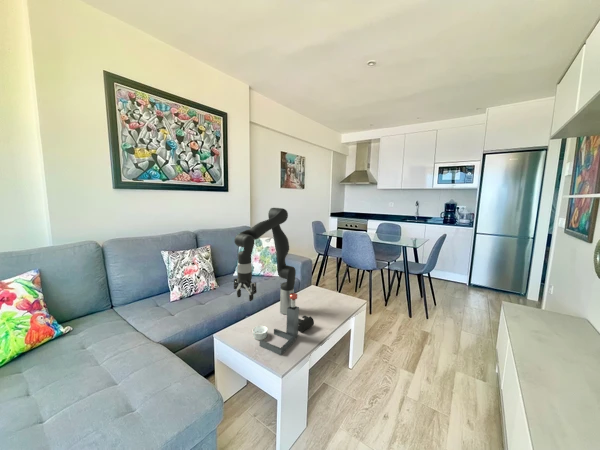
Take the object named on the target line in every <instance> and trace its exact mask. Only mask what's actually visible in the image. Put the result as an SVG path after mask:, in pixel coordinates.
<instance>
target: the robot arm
mask: <svg viewBox="0 0 600 450" xmlns="http://www.w3.org/2000/svg"><path fill="white" fill-rule="evenodd" d="M267 213H268V219H266V220H262V221H260V222H258V223H256V224H254V225H253V226H252V227H251V228H249V229H245V230H244V231H241V232H239V233H238V234H237V235H236V236H235V237H234V243H235V245H236V246H237V247H238V248H239V247H241V248H243V250H242V251H241V250H240V251H239V252H238V254H237V278H234V279H233V290H236V297H237V298H240V297H242V289H244V290H246V291H247V292H248V294H249V295H248V296H249V297H248V301H250V302H252V301H254V295H255V294H257V282H252V279H253V272H252V271H253V266H252V253H253V250H254V247H255V240H258V239H260V238H261V237H262V236H263V235H264V234H266V233H268V232H269V231H270V230H271V232H272V236H273V237H272V238H273V243H274V249H275V253H276V260H277V272H278V276H279V277H280V278H281V279H284V280H286V281H284V282H282V283H281V284H280V293H279V294H280V296H279V298H280V299H279V300H280V301H279V302H280V303H279V304H280V305H279V313H280V314H282V315H285V316H287V308H288V307H290V306H291V299H290V294H291V293H295V291H294V290H295V289H294V288H295V285H296V267H294V266H292V265H291V266H290V265H288V264H287V263H286V258H287V256H288V253H290V252H289V251H290V244H289V239H288V237H287V234H285V232H284V230H283V229H282V228H281V225H282V224H284V223H285V222H286V221H287V220H288V217H289V213H288V210H287V209H285V208H281V207H271V208H269V210H268V212H267Z"/></svg>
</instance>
